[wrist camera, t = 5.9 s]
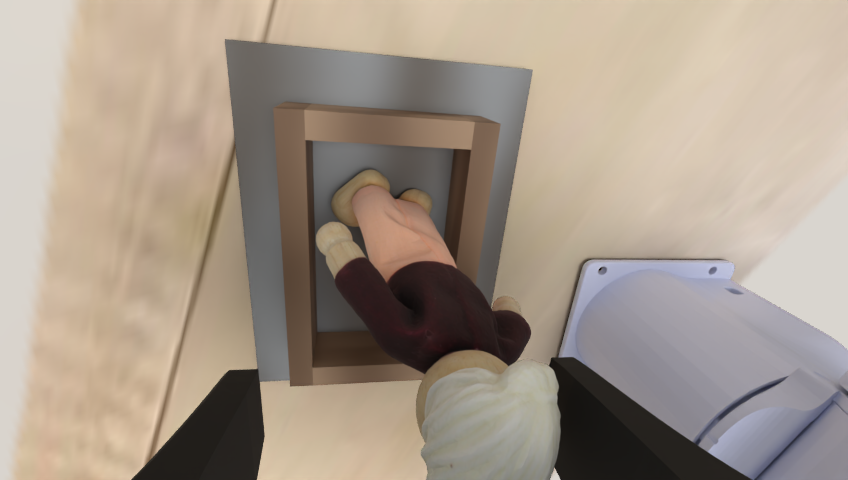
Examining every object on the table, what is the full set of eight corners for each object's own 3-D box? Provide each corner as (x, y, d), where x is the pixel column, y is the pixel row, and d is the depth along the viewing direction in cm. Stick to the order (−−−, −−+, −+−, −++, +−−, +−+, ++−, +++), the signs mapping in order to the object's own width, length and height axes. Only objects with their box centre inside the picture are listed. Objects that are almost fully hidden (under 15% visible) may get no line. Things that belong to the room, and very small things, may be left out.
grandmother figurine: (298, 231, 17) (279, 595, 7) (319, 148, 16) (340, 447, 5) (453, 262, 20) (616, 549, 9) (485, 194, 18) (719, 446, 8)
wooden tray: (527, 69, 17) (562, 70, 14) (476, 363, 23) (494, 405, 20) (229, 40, 15) (199, 33, 12) (261, 373, 21) (246, 422, 18)
